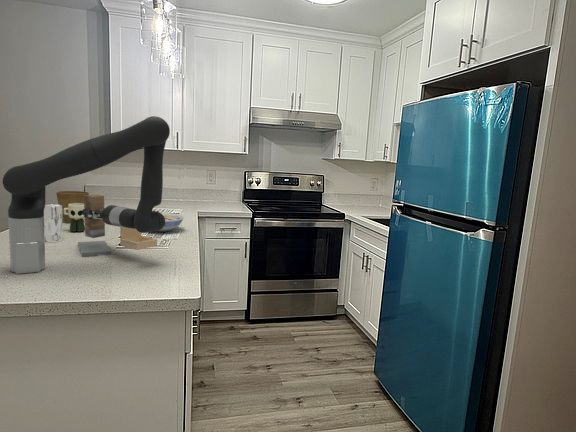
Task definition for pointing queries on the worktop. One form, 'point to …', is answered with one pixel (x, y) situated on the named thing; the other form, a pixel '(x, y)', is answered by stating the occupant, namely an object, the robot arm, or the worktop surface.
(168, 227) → the ramen bowl
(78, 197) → the plant pot
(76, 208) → the character mug
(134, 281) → the worktop surface
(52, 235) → the beer glass
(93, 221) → the walnut block
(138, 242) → the carton
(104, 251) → the blue-grey flat slab
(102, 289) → the worktop surface
